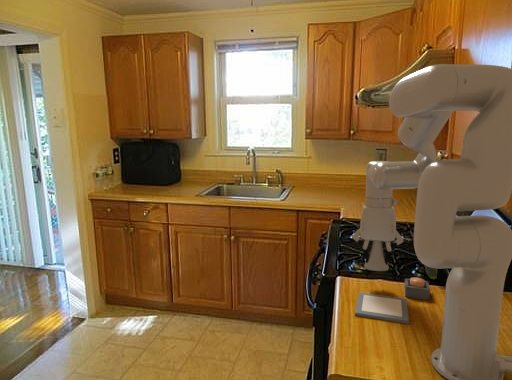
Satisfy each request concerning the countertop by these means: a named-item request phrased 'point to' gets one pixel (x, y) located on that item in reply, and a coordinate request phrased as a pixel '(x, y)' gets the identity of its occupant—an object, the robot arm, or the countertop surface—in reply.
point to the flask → (376, 258)
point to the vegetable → (431, 272)
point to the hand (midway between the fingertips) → (376, 261)
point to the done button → (417, 282)
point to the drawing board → (382, 307)
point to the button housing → (417, 290)
